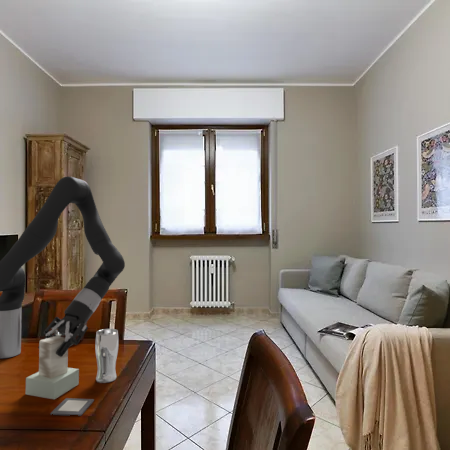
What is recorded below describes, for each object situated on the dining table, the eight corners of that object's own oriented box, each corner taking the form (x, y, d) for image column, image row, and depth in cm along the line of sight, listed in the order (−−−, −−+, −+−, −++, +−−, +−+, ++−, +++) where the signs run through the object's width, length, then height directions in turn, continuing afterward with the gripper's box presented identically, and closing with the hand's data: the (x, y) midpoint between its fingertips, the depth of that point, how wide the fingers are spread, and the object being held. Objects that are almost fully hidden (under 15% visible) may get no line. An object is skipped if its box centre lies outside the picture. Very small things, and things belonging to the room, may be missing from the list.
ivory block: (38, 374, 103) (39, 340, 103) (55, 368, 108) (56, 335, 108) (50, 378, 100) (51, 343, 100) (67, 372, 105) (68, 338, 105)
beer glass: (122, 376, 114) (123, 329, 114) (108, 385, 107) (109, 335, 107) (104, 373, 116) (105, 327, 116) (89, 381, 109) (90, 333, 110)
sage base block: (25, 395, 101) (25, 377, 101) (51, 381, 110) (51, 365, 110) (54, 400, 98) (54, 382, 98) (78, 385, 108) (78, 369, 108)
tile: (50, 414, 90) (50, 412, 90) (65, 399, 98) (65, 397, 98) (81, 415, 89) (81, 413, 89) (94, 400, 97) (94, 398, 97)
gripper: (62, 296, 114) (26, 341, 104) (91, 301, 107) (56, 350, 97) (76, 310, 119) (43, 354, 109) (105, 315, 112) (72, 363, 102)
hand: (49, 352), depth 103 cm, fingers open, 8 cm apart
